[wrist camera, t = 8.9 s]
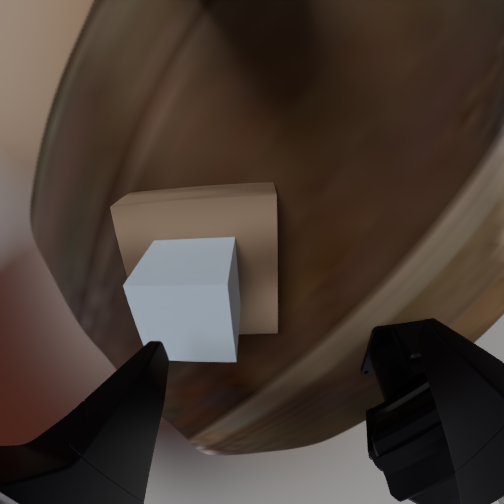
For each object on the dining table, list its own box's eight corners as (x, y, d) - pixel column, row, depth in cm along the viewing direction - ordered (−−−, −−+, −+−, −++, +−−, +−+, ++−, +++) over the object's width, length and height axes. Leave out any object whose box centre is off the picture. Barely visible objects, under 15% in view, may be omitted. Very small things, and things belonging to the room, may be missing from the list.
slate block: (240, 305, 19) (236, 362, 15) (168, 306, 19) (148, 358, 15) (235, 236, 17) (227, 284, 13) (153, 240, 17) (123, 285, 13)
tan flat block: (275, 307, 23) (277, 333, 20) (155, 309, 23) (145, 332, 21) (273, 182, 19) (276, 195, 16) (128, 193, 19) (110, 207, 16)
